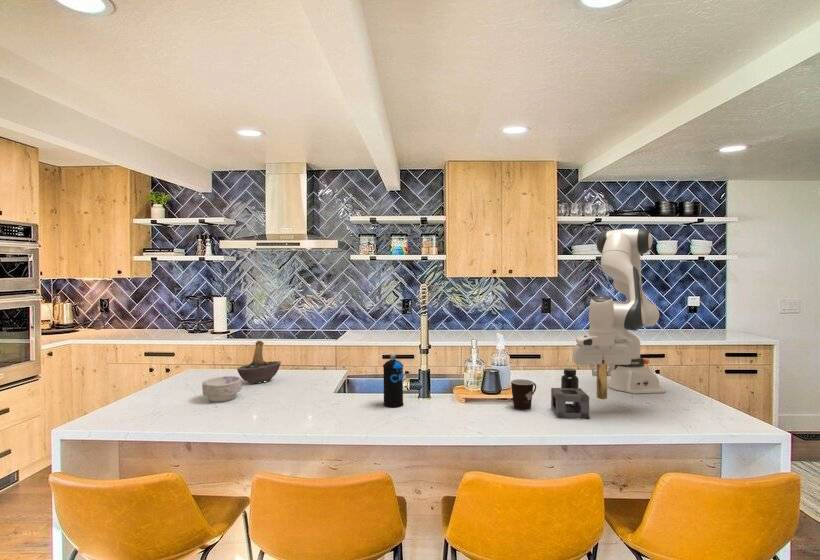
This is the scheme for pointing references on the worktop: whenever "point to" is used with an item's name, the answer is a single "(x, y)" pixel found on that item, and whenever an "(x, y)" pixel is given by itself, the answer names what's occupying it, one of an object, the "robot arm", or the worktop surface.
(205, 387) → the grey stone bowl
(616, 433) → the worktop surface
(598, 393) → the brass tube
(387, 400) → the aerosol can
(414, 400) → the worktop surface
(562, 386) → the supplement bottle
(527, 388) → the coffee mug
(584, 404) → the collar stand
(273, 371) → the mortar and pestle
